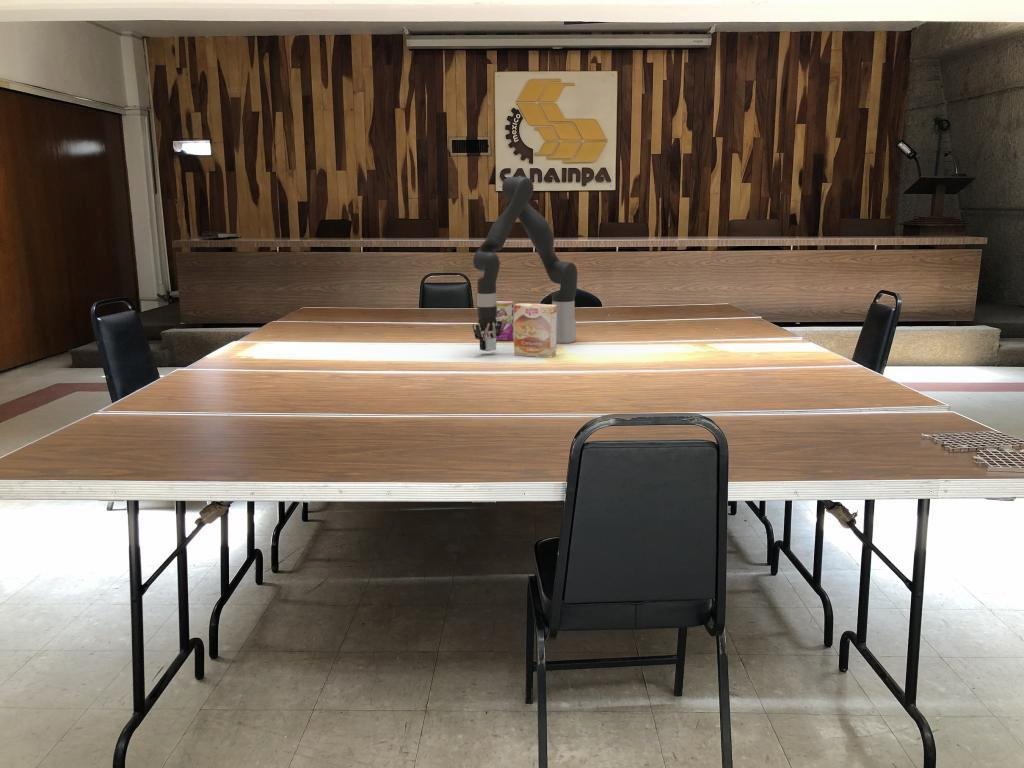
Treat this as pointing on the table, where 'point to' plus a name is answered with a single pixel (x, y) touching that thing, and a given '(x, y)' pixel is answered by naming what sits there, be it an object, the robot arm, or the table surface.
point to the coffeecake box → (535, 329)
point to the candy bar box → (505, 320)
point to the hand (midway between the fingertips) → (487, 348)
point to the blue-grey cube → (490, 344)
